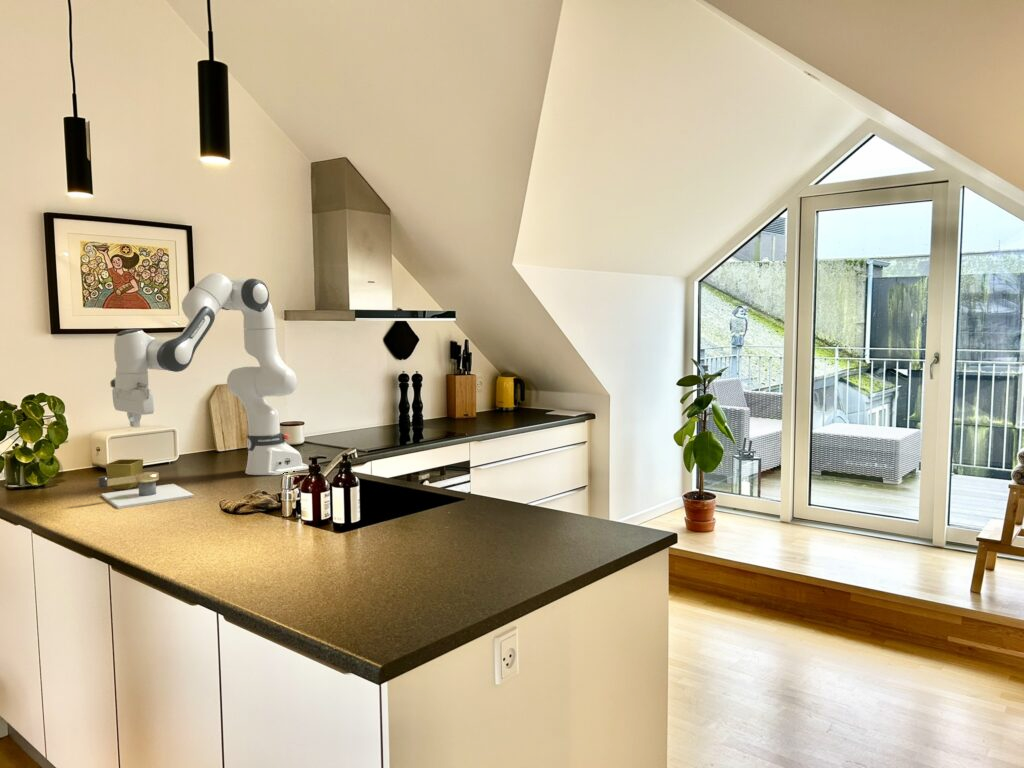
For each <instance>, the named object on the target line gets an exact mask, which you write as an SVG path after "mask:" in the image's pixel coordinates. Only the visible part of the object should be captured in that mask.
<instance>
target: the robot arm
mask: <svg viewBox="0 0 1024 768" xmlns="http://www.w3.org/2000/svg"><path fill="white" fill-rule="evenodd" d="M181 309H182V312H183V314H184V316H186V318H187V319H188V320H189V322H188V323H187V324H186V326H185V327H184V329H183V330H182V332H181V333H180V334H179V335H177V336H176V337H174V338H169V339H166V338H165V339H163V338H162V339H161V338H157V337H153V336H151V335H149V334H148V333H146V332H144V330H143V329H140V328H131V329H124V330H121V331H119V332H117V333H116V335H115V338H114V346H113V347H114V348H113V349H114V350H113V351H114V353H113V354H114V361H115V364H116V368H115V377H114V378H112V379H111V380H110V387H111V388H112V389H111V391H112V403H113V407H114V409H115V410H116V411H118V412H125V413H126V414H127V415H126V416H127V419H128V421H129V427H131V428H140V427H141V419H142V415H143V416H144V415H146V416H147V415H152V414H154V411H155V403H154V396H153V392H152V390H151V389H150V388H149V387H150V386H149V371H148V369H149V370H157V371H170V372H174V373H177V372H178V373H179V372H183V371H184V370H186V369H187V368H188V367H189V366H190V365H191V362H192V360H193V358H194V356H195V352H196V350H197V348H198V347H199V346H200V344H201V342H203V340H204V338H205V336H206V335H207V333H208V332H209V330H210V329H211V327H212V326H213V324H214V322H215V320H216V319H215V318H216V315H217V314H218V313H219V312H220V311H221V309H222V310H225V311H241V313H242V315H243V338H244V339H243V341H244V342H243V343H244V349H245V351H246V353H247V354H248V355H250V356H252V357H253V358H255V359H256V360H257V362H258V364H259V366H242V367H237V368H234V369H233V368H232V369H231V371H230V372H229V373H228V376H227V379H226V385H227V388H228V391H230V393H231V394H232V395H234V396H235V397H236V398H237V399H238V400H239V401H240V403H241V404H242V405H243V409H244V410H245V413H246V418H247V420H246V421H247V431H248V434H247V435H246V436H247V437H246V438H247V439H246V446H247V450H248V451H247V453H248V455H247V464H246V469H245V471H244V472H245V474H246V475H249V476H250V475H251V476H278V475H284V474H283V473H284V472H290V473H293V471H295V472H301V471H306V470H308V469H309V464H306V463H304V462H303V459H302V455H301V453H300V452H299V451H298V450H297V449H296V448H294V447H292V446H291V445H290V444H288V443H287V442H286V441H287V440H289V439H290V438H291V436H290V435H289V434H287V433H282V432H281V430H280V414H279V412H278V410H277V409H276V408H275V407H273V406H271V405H269V404H268V402H267V401H266V399H265V397H284V396H288V395H292V394H294V393H293V392H295V390H296V388H297V385H298V377H297V374H296V373H295V371H294V370H293V369H292V368H291V367H289V366H288V365H287V364H286V363H285V362H284V360H283V358H282V357H281V355H280V353H279V349H278V345H277V332H276V319H275V313H274V309H273V306H272V303H271V302H270V292H269V288H268V287H267V284H266V283H265V282H264V281H263V280H260V279H257V278H236V279H235V278H234V279H229V278H228V277H227V276H226V275H224V274H222V273H220V272H212V273H210V274H208V275H206V276H205V277H203V278H202V279H201V280H200V281H198V282H197V283H196V284H195V285H194V286H193V287H192V288H191V289H190V291H188V293H187V294H186V295H185V296H184V298H183V299H182V301H181ZM285 440H286V441H285Z"/></svg>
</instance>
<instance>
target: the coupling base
mask: <svg viewBox="0 0 1024 768" xmlns="http://www.w3.org/2000/svg"><path fill="white" fill-rule="evenodd" d="M156 482H157V481H154V482H147V483H138V484H137V487H138V488H134V489H133V488H131V489H124V490H120V491H119V490H117V491H111V492H105V493H101V497H102V498H104V499H105V500H106V501H107V502H109V503H110V504H111V505H113V506H114V507H116V508H117V510H118V509H126V508H133V507H139V506H145V505H146V506H147V505H152V504H153V505H154V504H158V503H165V502H166V503H167V502H172V500H173V501H179V500H185V498H186V499H192V498H195V494H194V493H192V492H190V491H188V490H186V489H184V488H183V487H181V486H179V485H177V484H175V483H170V484H169V483H168V484H163V485H162V484H160V485H157V484H156ZM191 497H192V498H191Z"/></svg>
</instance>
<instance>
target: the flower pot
mask: <svg viewBox="0 0 1024 768" xmlns="http://www.w3.org/2000/svg"><path fill="white" fill-rule="evenodd" d="M104 466H105V470H106V477H108V479H112V478H120V477H127V476H134V475H135V474H138V473H143V467H144V459H143V458H141V459H140V458H139V459H138V458H137V459H135V458H134V459H133V458H132V459H129V458H128V459H125V458H124V459H117V460H114V461H111V462H108V463H106V464H104ZM111 486H112V487H113V489H114V490H132V489H133V488H134V487H138V483H137V482H133V483H126V484H118V485H111Z"/></svg>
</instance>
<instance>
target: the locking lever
mask: <svg viewBox="0 0 1024 768" xmlns="http://www.w3.org/2000/svg"><path fill="white" fill-rule="evenodd" d="M159 475H160V474H159V472H157V471H147V472H146V471H145V472H142V473H138V474H135V475H134V476H127V477H120V478H112V479H108V476H107V475H106V476H105V475H104V476H100V477H97V480H98V481H97V482H98V488H106V487H109V486H112V485H118V484H126V483H133V482H137V483H147V482H154V481H156V482H157V481H159V480H160V476H159Z"/></svg>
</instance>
